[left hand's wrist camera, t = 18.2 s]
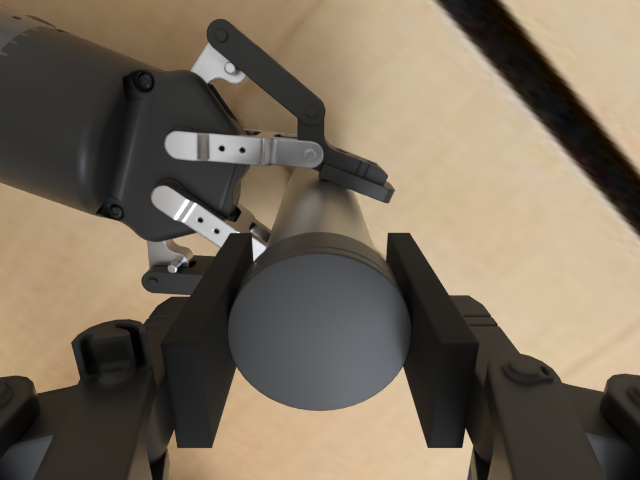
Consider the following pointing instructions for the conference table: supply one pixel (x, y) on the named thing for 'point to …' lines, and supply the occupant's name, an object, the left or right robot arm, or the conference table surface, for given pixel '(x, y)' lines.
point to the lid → (319, 322)
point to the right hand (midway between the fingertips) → (368, 233)
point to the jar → (318, 209)
